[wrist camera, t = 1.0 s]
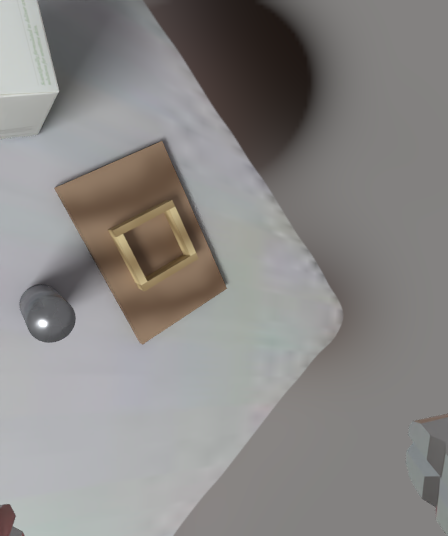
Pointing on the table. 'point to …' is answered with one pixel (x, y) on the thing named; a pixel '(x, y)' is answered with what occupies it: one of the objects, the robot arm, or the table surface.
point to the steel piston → (47, 313)
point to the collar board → (144, 239)
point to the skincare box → (24, 70)
